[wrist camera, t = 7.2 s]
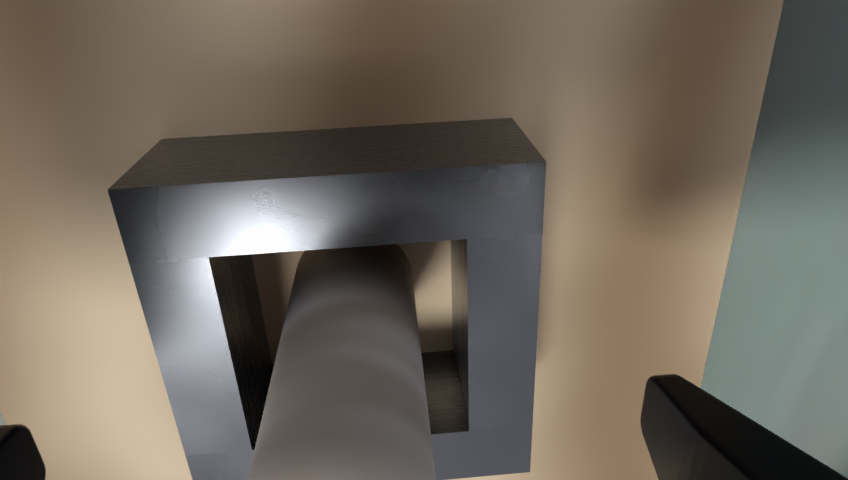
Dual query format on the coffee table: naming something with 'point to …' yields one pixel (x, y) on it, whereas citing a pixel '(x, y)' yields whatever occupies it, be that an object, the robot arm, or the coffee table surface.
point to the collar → (327, 229)
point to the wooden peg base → (383, 264)
